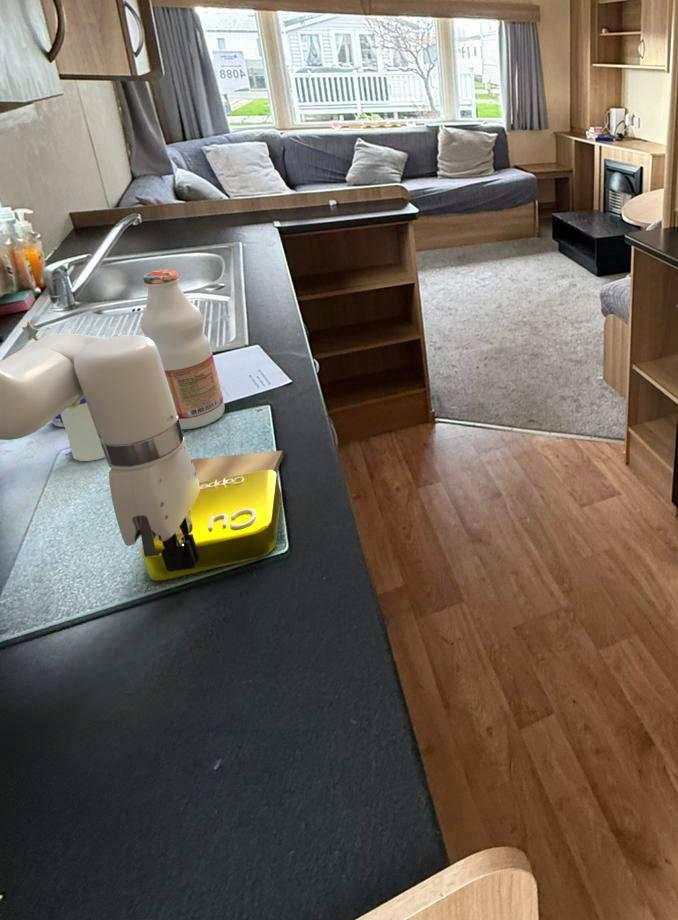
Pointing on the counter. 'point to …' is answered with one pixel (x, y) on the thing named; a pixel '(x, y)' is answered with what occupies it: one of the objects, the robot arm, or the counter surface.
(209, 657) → the counter surface
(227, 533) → the element tile
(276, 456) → the wooden board
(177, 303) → the fruit juice
